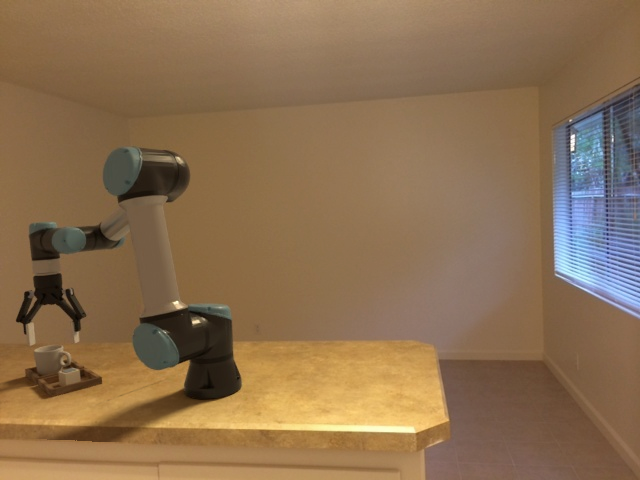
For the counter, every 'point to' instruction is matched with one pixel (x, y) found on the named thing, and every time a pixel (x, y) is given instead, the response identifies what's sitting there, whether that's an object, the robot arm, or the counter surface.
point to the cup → (50, 359)
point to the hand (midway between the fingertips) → (53, 343)
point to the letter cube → (69, 376)
